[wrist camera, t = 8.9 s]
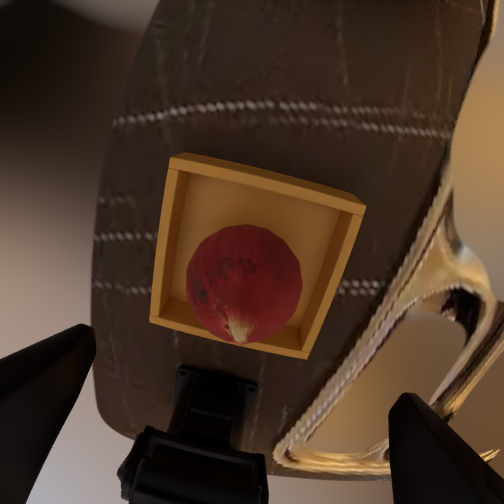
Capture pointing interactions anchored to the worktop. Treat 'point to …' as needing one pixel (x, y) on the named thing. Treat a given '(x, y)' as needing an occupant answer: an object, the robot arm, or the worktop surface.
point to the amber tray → (257, 214)
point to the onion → (243, 283)
